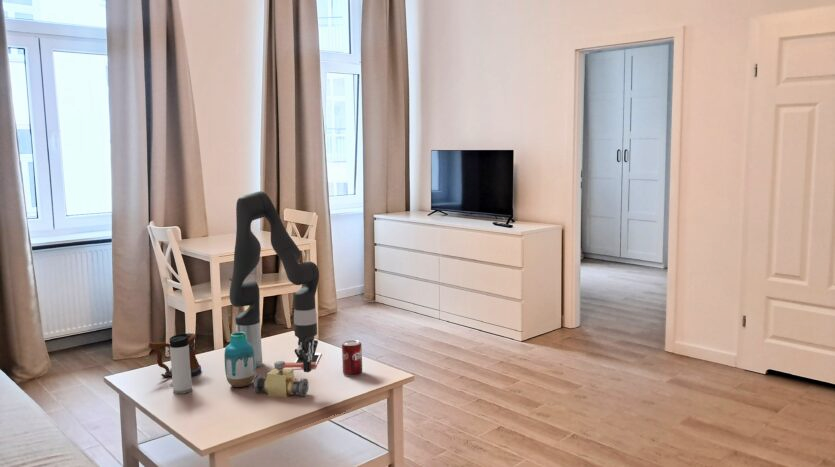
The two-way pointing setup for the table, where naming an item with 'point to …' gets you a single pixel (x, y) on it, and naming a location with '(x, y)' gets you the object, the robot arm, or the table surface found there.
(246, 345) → the vase
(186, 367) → the travel mug
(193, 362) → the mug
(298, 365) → the lever
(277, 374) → the valve pipe
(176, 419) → the table surface
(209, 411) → the table surface
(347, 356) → the soda can
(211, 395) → the table surface
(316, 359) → the cell phone
